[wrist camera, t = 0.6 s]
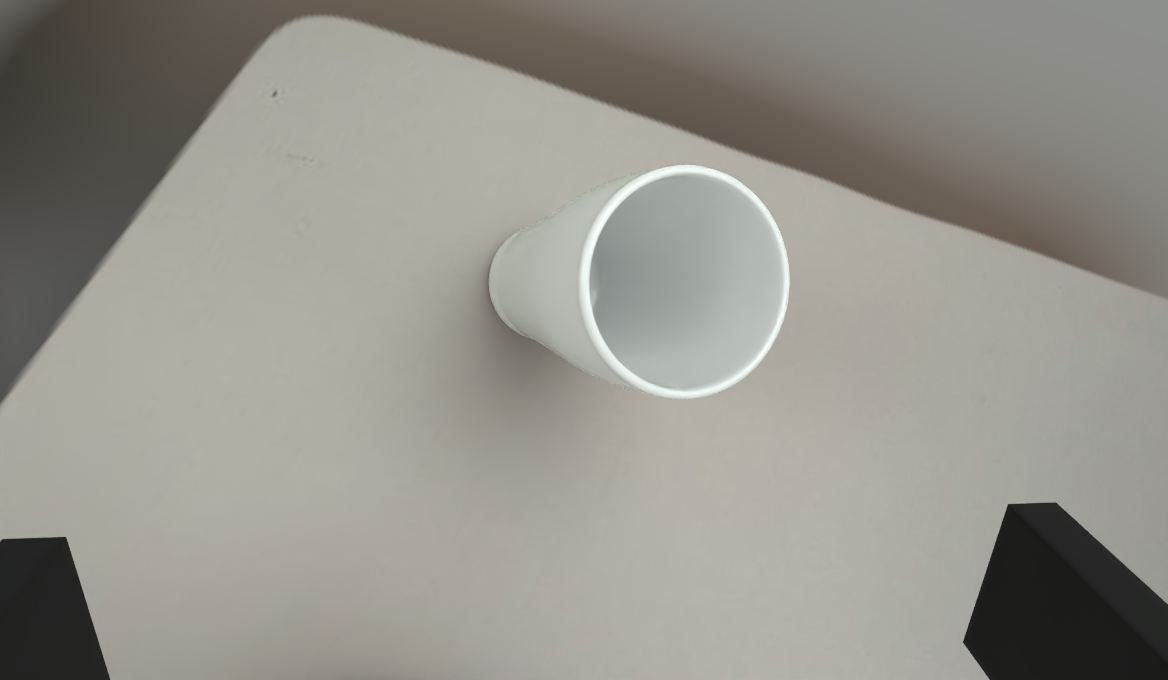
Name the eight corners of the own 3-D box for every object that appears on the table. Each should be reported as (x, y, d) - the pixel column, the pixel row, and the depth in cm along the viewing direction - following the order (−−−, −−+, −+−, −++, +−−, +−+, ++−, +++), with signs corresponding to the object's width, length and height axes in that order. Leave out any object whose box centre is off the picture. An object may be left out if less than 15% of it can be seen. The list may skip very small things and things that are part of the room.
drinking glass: (544, 178, 35) (698, 109, 21) (636, 285, 37) (834, 288, 23) (438, 279, 34) (525, 278, 19) (539, 384, 35) (685, 452, 21)
